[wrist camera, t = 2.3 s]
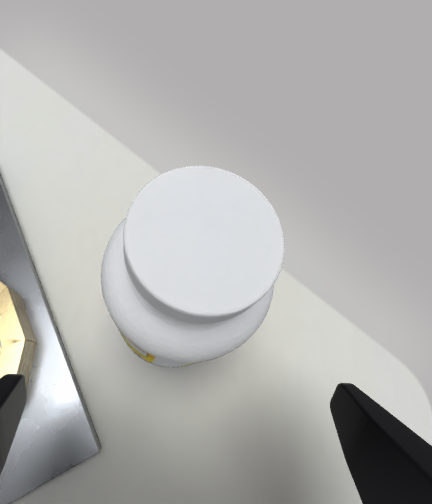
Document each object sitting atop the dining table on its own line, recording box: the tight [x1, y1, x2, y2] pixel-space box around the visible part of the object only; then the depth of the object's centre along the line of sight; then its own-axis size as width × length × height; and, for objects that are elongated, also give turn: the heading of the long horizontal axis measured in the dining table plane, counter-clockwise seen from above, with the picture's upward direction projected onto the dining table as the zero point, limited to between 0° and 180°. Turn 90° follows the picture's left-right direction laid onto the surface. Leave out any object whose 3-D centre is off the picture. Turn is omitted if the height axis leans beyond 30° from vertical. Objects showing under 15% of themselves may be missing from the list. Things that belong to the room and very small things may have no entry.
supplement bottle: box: [101, 166, 284, 367], centre depth 15 cm, size 7×7×13 cm
